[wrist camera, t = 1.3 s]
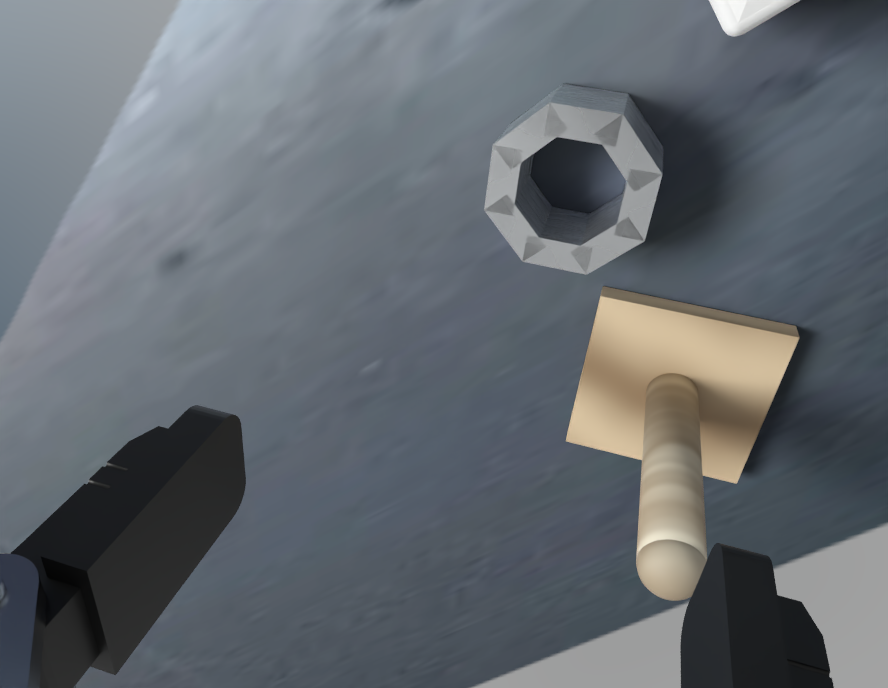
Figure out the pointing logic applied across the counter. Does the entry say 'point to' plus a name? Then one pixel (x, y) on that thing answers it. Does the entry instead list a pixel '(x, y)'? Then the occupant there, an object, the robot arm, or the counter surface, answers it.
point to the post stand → (676, 414)
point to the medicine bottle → (746, 13)
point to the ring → (565, 231)
